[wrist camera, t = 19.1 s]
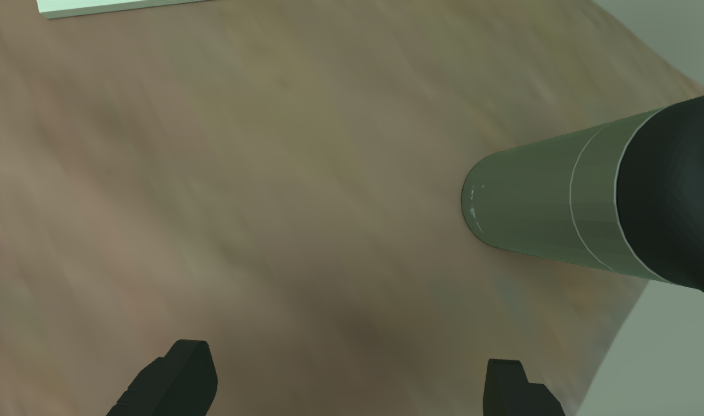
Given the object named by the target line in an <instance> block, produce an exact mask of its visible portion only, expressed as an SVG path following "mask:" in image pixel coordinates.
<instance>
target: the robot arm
mask: <svg viewBox="0 0 704 416" xmlns="http://www.w3.org/2000/svg"><path fill="white" fill-rule="evenodd" d="M462 210H463V214H464V217H465V220H466V222H467V224H468V226H469V228H470V229H471V230H472V232H473V233H474V234H475V235H476V236H477V237H478V238H479V239H480V240H482V241H483V242H484V243H486V244H488V245H491V246H493V247H497V248H501V249H506V250H510V251H515V252H519V253H523V254H528V255H533V256H538V257H543V258H548V259H552V260H557V261H562V262H567V263H572V264H577V265H582V266H586V267H591V268H596V269H601V270H606V271H611V272H615V273H620V274H625V275H631V276H636V277H641V278H646V279H651V280H656V281H660V282H666V283H670V284H675V285H681V286H685V287H690V288H695V289H699V290H701V291H702V292H704V96H701V97H697V98H694V99H690V100H687V101H683V102H680V103H676V104H673V105H670V106H666V107H662V108H659V109H655V110H652V111H648V112H644V113H641V114H637V115H633V116H630V117H627V118H623V119H620V120H616V121H613V122H609V123H605V124H602V125H598V126H594V127H591V128H587V129H583V130H580V131H576V132H572V133H569V134H565V135H562V136H558V137H554V138H551V139H547V140H543V141H540V142H536V143H532V144H529V145H525V146H521V147H517V148H513V149H510V150H506V151H503V152H499V153H495V154H493V155H490V156H488V157H486V158H484V159H483V160H482V161H480V162H479V163H477V165H476V166H475V167H474V168H473V169H472V170H471V172H470V173H469V175H468V177H467V179H466V181H465V184H464V187H463V191H462ZM217 384H218V379H217V374H216V370H215V367H214V363H213V360H212V356H211V352H210V349H209V345H208V343H207V342H206V341H201V340H184V339H180V340H178V341H176V342H175V343H174V345H173V346H172V347H171V349H170V350H169V351H168V353H167V354H166V355H165V357H158V358H157V359H155V360H154V361H153V362H152V363H150V364H149V365H148V366H147V367H145V368H144V369H143V370H141V371H140V373H139V374H138V375H137V377H136V378H135V379H134V380H133V382H132V383H131V384H130V385H129V387H128V390H127V391H125V392H124V393H123V394H122V396H121V397H120V398H119V400H118V401H117V404H116V405H114V406H113V407H112V409H111V410H110V411H109V412H108V414H107V415H106V416H205V415H206V413H207V411H208V410H209V408H210V406H211V404H212V402H213V400H214V397H215V395H216V391H217ZM483 415H484V416H565V414H564V411H563V409H562V407H561V404H560V402H559V401H558V400H557V399H556V398H555V397H554V396H553V394H552V393H551V392H550V391H549V390H548V389H547V388H546V386H545V385H544V384H536V383H528V380H527V377H526V374H525V372H524V369H523V366H522V364H521V362H520V361H518V360H502V359H489V361H488V366H487V373H486V380H485V388H484V395H483Z"/></svg>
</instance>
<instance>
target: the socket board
mask: <svg viewBox="0 0 704 416" xmlns="http://www.w3.org/2000/svg"><path fill="white" fill-rule="evenodd" d="M196 1H204V0H37V3H38V8H39V12H40V13H41V14H42V15H44V16H45V17H46V18H48V19H52V18H60V17H69V16H77V15H86V14H94V13H102V12H111V11H119V10H128V9H136V8H145V7H153V6H162V5H170V4H179V3H187V2H196Z"/></svg>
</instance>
